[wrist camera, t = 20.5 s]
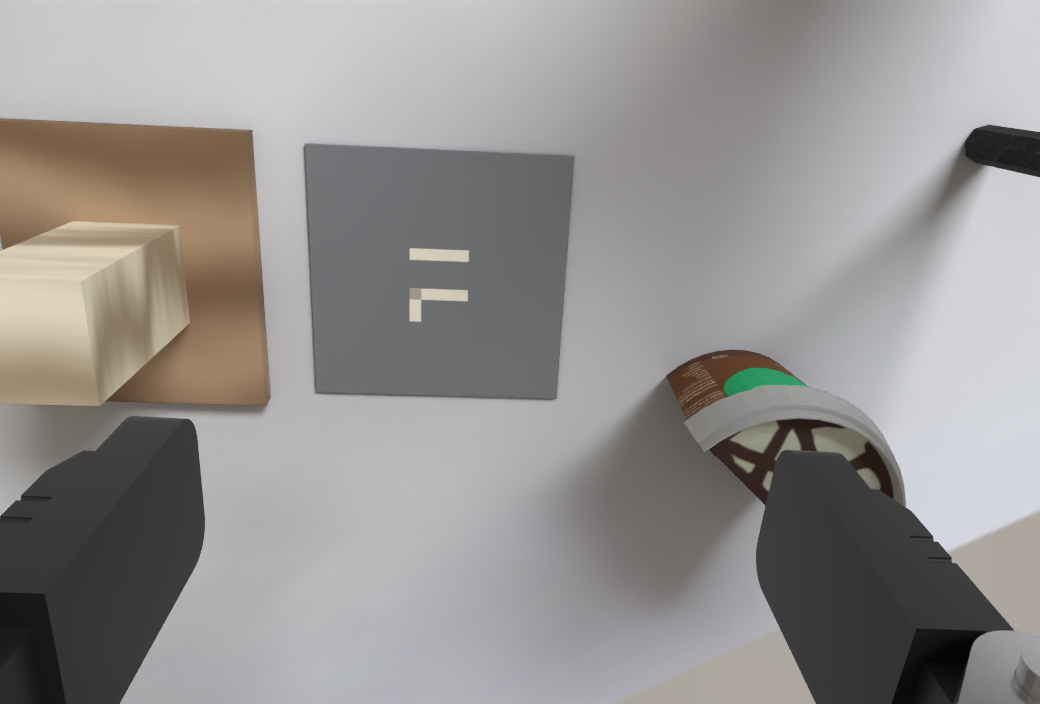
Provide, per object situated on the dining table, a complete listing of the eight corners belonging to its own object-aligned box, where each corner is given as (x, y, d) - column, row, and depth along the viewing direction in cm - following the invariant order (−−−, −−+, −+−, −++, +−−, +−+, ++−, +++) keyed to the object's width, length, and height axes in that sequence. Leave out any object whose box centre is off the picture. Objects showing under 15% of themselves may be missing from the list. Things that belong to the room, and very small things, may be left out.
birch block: (72, 221, 38) (-62, 276, 28) (179, 225, 38) (80, 281, 29) (88, 319, 39) (-35, 402, 30) (189, 322, 40) (99, 405, 30)
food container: (869, 429, 45) (971, 527, 36) (784, 496, 46) (861, 608, 37) (736, 280, 41) (810, 347, 32) (648, 358, 43) (694, 443, 33)
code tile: (305, 143, 38) (304, 143, 38) (573, 156, 39) (574, 156, 38) (316, 390, 42) (316, 392, 42) (555, 397, 43) (556, 398, 43)
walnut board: (-9, 117, 37) (-22, 119, 36) (252, 130, 38) (246, 132, 37) (41, 391, 42) (31, 399, 41) (270, 397, 42) (265, 405, 42)
